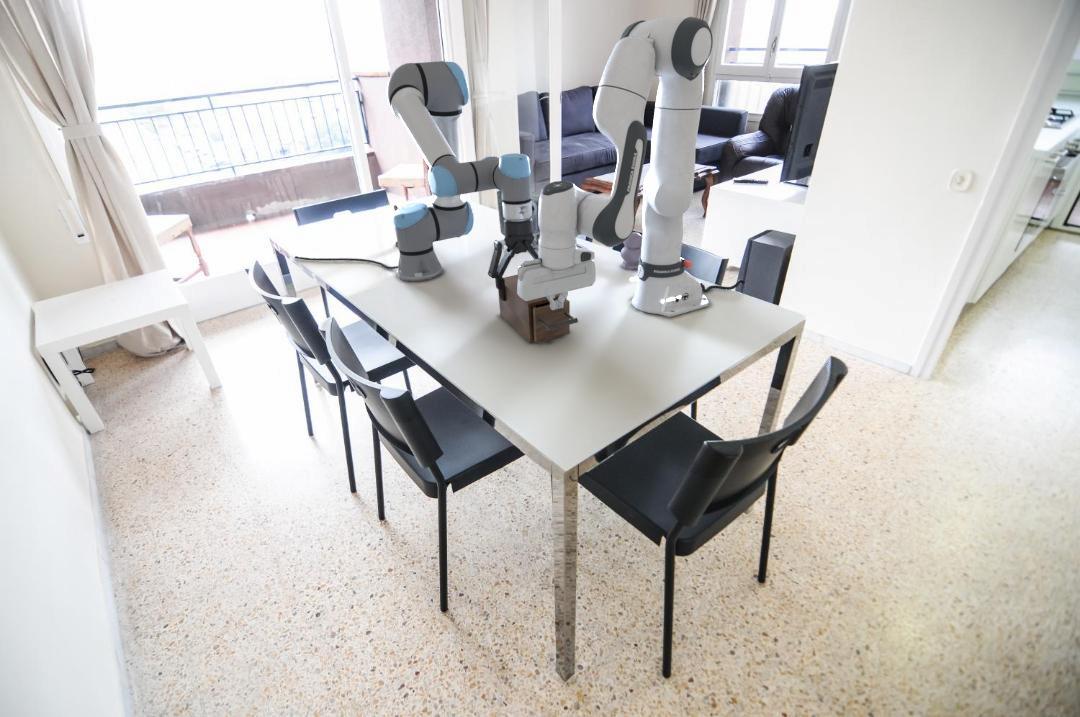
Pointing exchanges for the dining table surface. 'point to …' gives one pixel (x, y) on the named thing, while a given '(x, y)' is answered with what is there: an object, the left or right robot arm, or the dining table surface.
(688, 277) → the right robot arm
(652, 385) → the dining table surface
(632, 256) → the cat figurine
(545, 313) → the drawer
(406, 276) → the left robot arm
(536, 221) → the concrete block
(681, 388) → the dining table surface
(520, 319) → the cabinet
